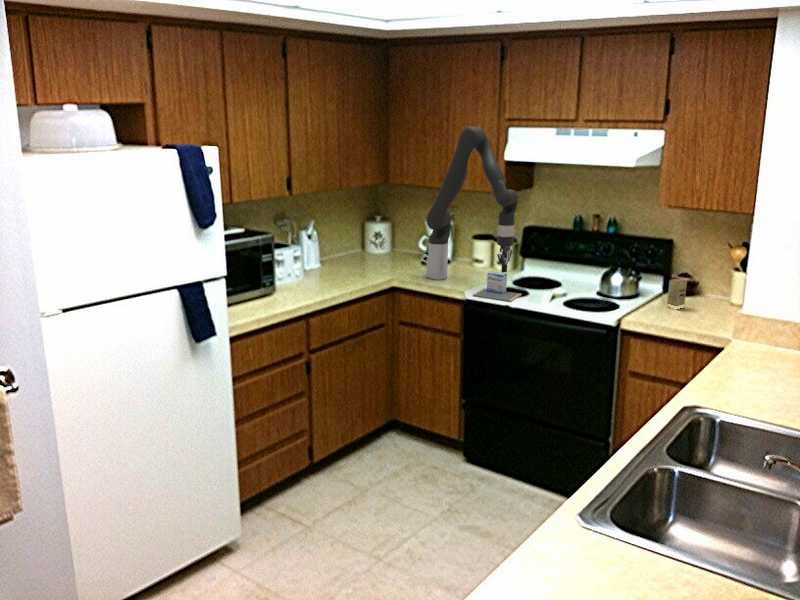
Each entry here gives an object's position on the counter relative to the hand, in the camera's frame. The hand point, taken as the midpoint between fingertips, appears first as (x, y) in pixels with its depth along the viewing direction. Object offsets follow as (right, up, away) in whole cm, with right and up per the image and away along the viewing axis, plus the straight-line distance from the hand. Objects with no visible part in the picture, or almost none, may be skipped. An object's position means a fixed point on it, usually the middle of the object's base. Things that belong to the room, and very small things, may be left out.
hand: (504, 272), depth 344 cm
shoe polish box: (+69, -16, -24) cm, 75 cm away
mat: (-4, -11, -9) cm, 15 cm away
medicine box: (-4, -9, -4) cm, 11 cm away
